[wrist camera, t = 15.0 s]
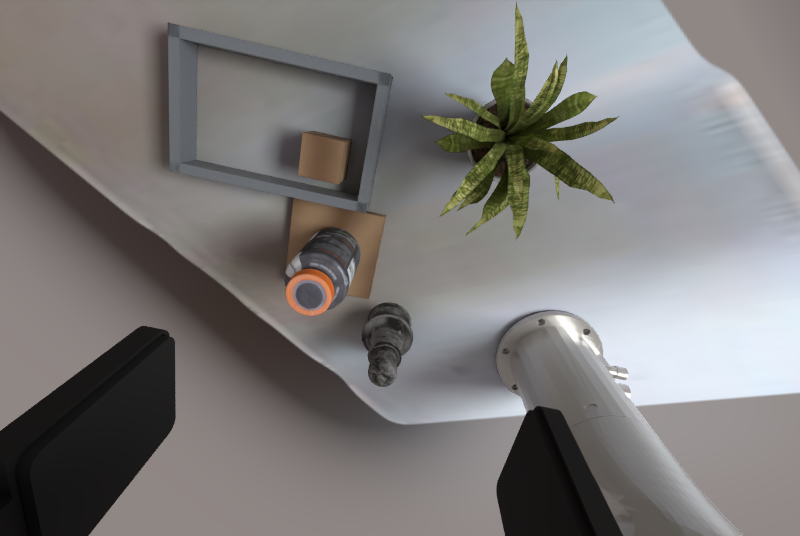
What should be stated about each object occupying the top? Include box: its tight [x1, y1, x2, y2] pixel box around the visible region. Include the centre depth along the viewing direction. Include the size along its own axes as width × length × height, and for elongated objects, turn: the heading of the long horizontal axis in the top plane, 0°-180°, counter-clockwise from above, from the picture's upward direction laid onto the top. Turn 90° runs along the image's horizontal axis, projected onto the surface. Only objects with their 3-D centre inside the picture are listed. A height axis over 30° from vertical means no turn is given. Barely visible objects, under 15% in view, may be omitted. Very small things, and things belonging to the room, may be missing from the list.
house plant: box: [422, 3, 619, 239], centre depth 31 cm, size 14×14×16 cm
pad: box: [284, 198, 386, 299], centre depth 43 cm, size 10×10×1 cm
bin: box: [168, 23, 393, 213], centre depth 38 cm, size 20×13×3 cm, turn 78°
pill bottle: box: [285, 227, 361, 316], centre depth 38 cm, size 6×6×11 cm
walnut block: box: [298, 131, 352, 184], centre depth 38 cm, size 4×4×4 cm
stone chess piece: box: [362, 303, 413, 387], centre depth 41 cm, size 6×6×12 cm
